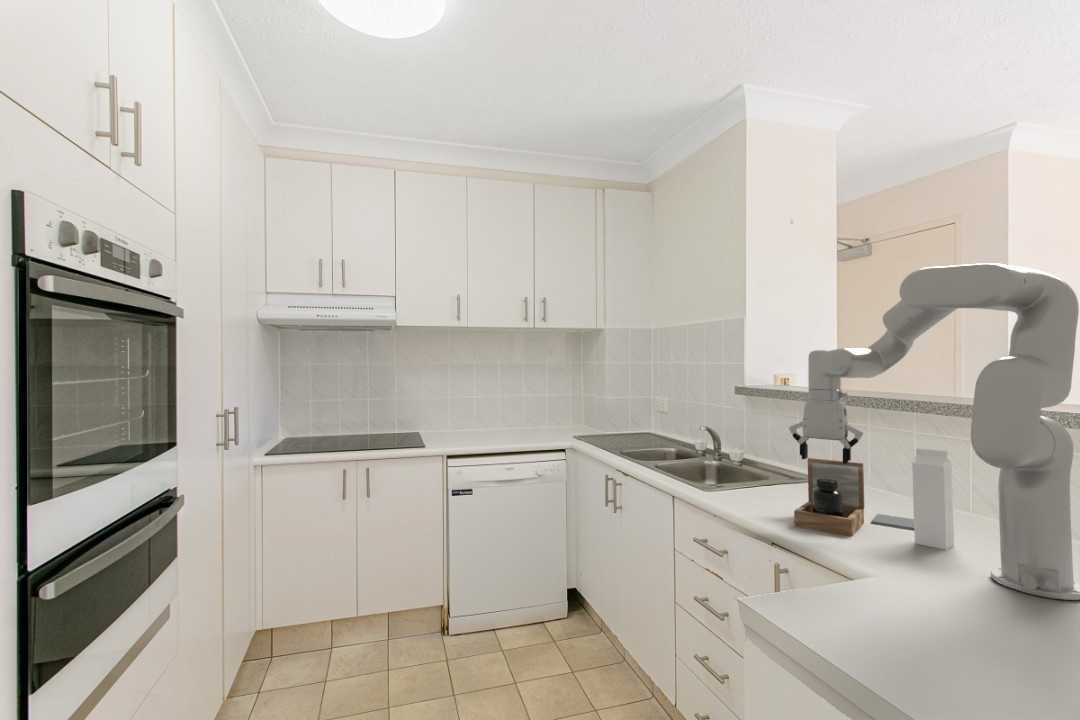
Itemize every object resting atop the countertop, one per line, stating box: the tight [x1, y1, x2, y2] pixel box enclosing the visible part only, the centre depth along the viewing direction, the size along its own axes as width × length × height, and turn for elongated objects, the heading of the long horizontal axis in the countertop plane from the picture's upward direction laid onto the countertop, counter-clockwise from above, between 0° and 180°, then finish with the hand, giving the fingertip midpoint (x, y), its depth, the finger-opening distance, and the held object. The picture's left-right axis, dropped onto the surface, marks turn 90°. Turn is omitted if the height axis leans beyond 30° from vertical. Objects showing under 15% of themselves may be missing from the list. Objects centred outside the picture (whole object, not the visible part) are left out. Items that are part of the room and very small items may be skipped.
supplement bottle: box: [813, 479, 843, 517], centre depth 131 cm, size 7×7×12 cm
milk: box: [911, 448, 955, 551], centre depth 117 cm, size 6×6×22 cm
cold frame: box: [793, 457, 865, 537], centre depth 133 cm, size 16×13×16 cm
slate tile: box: [870, 513, 914, 531], centre depth 134 cm, size 10×10×1 cm
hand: (824, 460), depth 132 cm, fingers open, 9 cm apart
